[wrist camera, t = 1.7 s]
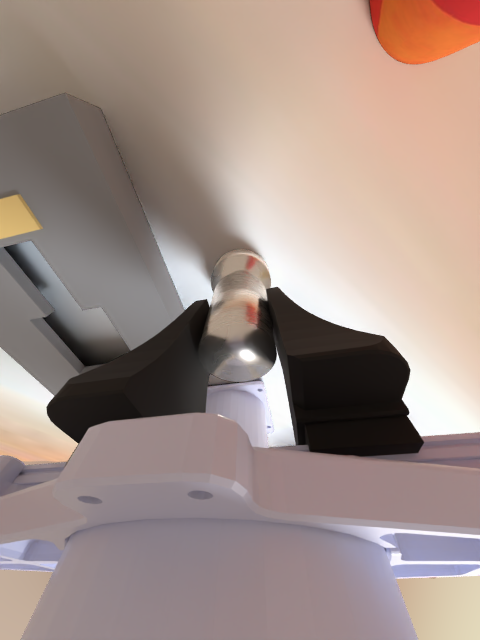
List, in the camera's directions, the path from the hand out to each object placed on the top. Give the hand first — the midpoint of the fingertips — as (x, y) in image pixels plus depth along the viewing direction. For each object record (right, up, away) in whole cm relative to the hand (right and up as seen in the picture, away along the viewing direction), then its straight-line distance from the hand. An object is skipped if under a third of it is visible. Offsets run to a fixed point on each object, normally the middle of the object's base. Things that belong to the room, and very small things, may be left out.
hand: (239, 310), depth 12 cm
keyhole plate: (-12, +1, +5) cm, 13 cm away
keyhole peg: (0, +2, +4) cm, 4 cm away
